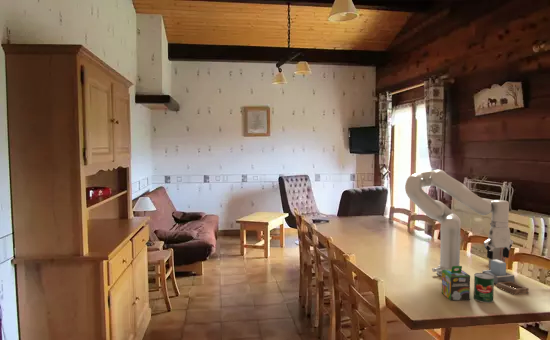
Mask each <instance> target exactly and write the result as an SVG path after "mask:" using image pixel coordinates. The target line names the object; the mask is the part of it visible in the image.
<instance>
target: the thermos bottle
mask: <svg viewBox="0 0 550 340" xmlns="http://www.w3.org/2000/svg"><path fill="white" fill-rule="evenodd" d="M490 248H491V247H490ZM503 249H504V248H495V247H494V249H493V250H492V251H493V259H490V258H488V263H487V264H488V266H487V267H488V268H489V269H490V270H491V260H496V259H497V260H500V261H503V262H505V263H506V257H503ZM488 268H487V269H488ZM489 269H488V270H489Z"/></svg>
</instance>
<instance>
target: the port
mask: <svg viewBox="0 0 550 340" xmlns="http://www.w3.org/2000/svg"><path fill="white" fill-rule="evenodd" d="M481 273H486V274H490V275H493V276H494V283H495V284H494V285H496V284H497V283H500V282H509V281H512V282H514V283H515V274H511V273H508V272H506V276H498V275H496V274H493V273H491V270H489V269H486V270H482V272H481Z"/></svg>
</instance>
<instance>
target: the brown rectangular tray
mask: <svg viewBox="0 0 550 340" xmlns="http://www.w3.org/2000/svg"><path fill="white" fill-rule="evenodd" d="M510 286H511V287H510ZM496 287H497V288H498V287H499V288H498V289H500V288H502V289H501V290H503V289H504V290H503V291H505V290H506V291H505V292H507V291H508V292H507V293H510V292H511V293H510V294H512V293H513V294H512V295H514V294H515V295H520V294H519V293H524V294H527V293H526V292H528V293H529V287H526V286H525V285H524V286H523V285H521V284H519V283H516V282H515V281H514V282H512V281H509V282H500V283H497V285H496ZM512 287H514V288H516V289H514V288H512Z"/></svg>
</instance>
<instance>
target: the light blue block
mask: <svg viewBox="0 0 550 340" xmlns="http://www.w3.org/2000/svg"><path fill="white" fill-rule="evenodd" d="M491 273H493V274H496V275H498V276H506V273H507V263H506V261H505V262H503V261H500V260H497V259H496V260H491Z"/></svg>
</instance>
